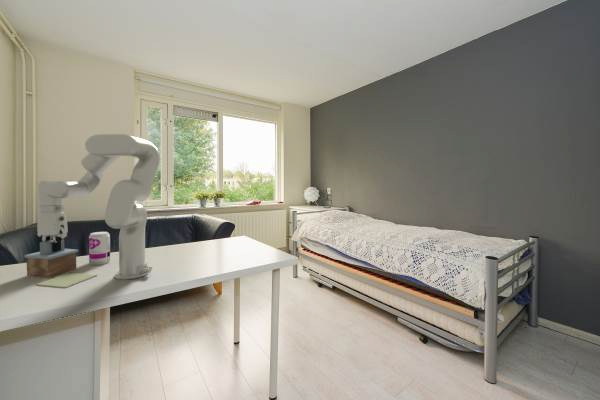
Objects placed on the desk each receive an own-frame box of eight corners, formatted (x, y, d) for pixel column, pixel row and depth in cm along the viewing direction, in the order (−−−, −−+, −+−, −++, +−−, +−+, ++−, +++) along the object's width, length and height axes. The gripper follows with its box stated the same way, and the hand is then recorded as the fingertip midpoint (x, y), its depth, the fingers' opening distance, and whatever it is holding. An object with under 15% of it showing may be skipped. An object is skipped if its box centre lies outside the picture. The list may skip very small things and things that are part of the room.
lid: (78, 253, 116) (78, 238, 116) (49, 261, 104) (49, 245, 104) (55, 252, 117) (55, 237, 117) (24, 259, 105) (23, 243, 105)
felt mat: (96, 275, 109) (96, 275, 109) (65, 288, 96) (65, 287, 96) (70, 273, 111) (70, 272, 111) (35, 285, 98) (35, 284, 98)
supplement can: (98, 266, 121) (98, 235, 121) (84, 264, 123) (84, 233, 122) (114, 261, 129) (114, 232, 128) (101, 259, 131) (100, 231, 130)
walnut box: (76, 269, 116) (76, 252, 115) (50, 278, 105) (49, 259, 105) (55, 267, 117) (54, 250, 117) (27, 276, 106) (26, 257, 106)
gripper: (76, 209, 112) (78, 249, 113) (44, 207, 114) (45, 247, 115) (59, 210, 105) (60, 254, 106) (24, 209, 107) (26, 252, 108)
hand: (52, 250), depth 111 cm, fingers closed on lid, 3 cm apart
